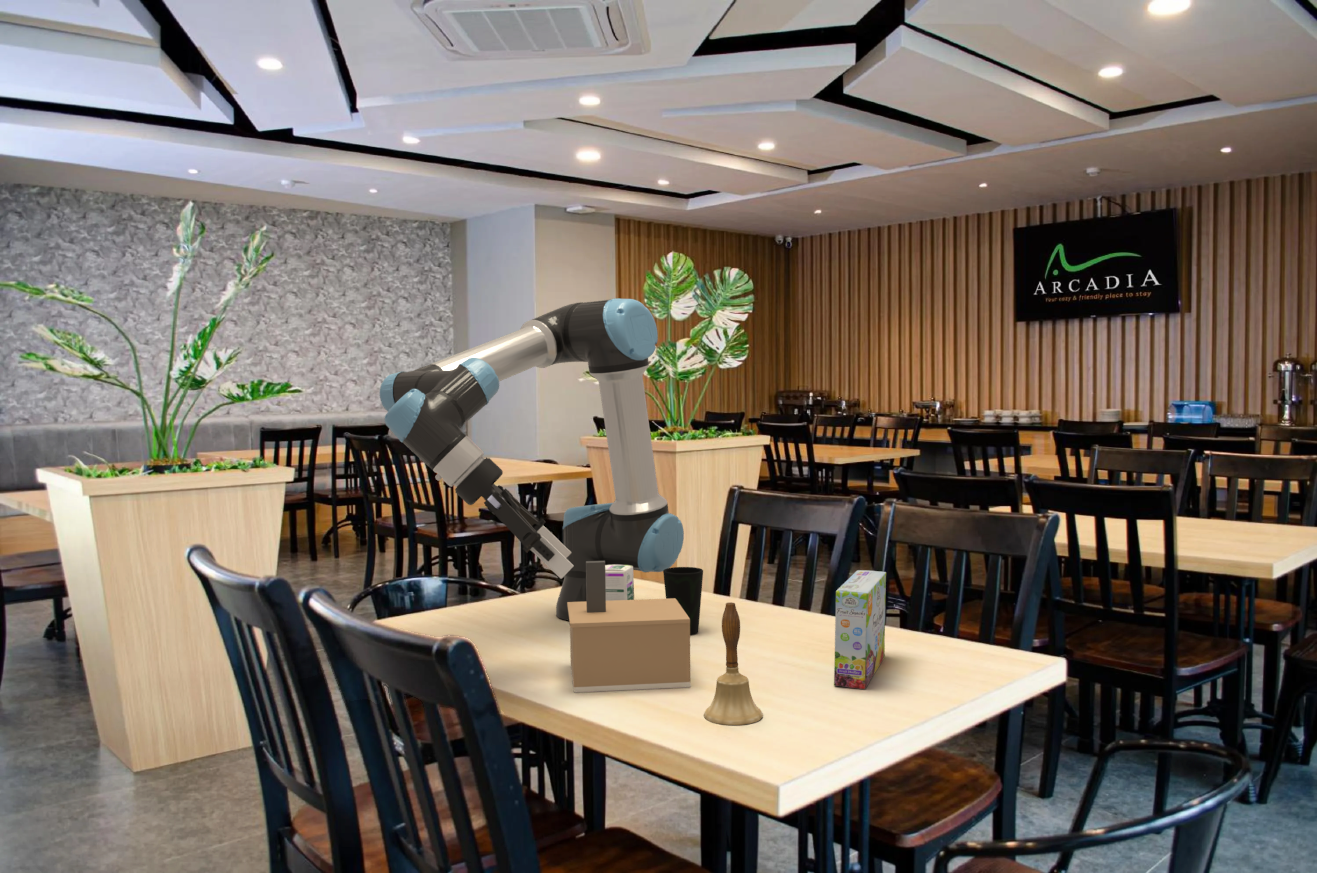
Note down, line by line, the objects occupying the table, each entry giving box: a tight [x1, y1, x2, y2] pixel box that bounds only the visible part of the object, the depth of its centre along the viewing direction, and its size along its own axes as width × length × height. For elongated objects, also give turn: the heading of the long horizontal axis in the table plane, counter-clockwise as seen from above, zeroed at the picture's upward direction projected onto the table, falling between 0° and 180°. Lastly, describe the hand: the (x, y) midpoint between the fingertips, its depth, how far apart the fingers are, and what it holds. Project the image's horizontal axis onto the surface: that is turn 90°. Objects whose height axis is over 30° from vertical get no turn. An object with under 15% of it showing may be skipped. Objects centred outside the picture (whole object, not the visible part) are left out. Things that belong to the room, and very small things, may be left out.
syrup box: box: [605, 564, 635, 601], centre depth 178 cm, size 6×6×14 cm
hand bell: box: [703, 602, 764, 726], centre depth 138 cm, size 8×8×16 cm
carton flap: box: [567, 561, 690, 629], centre depth 158 cm, size 18×16×9 cm
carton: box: [569, 623, 692, 693], centre depth 159 cm, size 18×16×10 cm
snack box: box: [833, 569, 887, 690], centre depth 160 cm, size 21×6×15 cm, turn 160°
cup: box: [662, 566, 704, 636], centre depth 188 cm, size 8×8×12 cm
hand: (566, 565), depth 156 cm, fingers open, 13 cm apart
